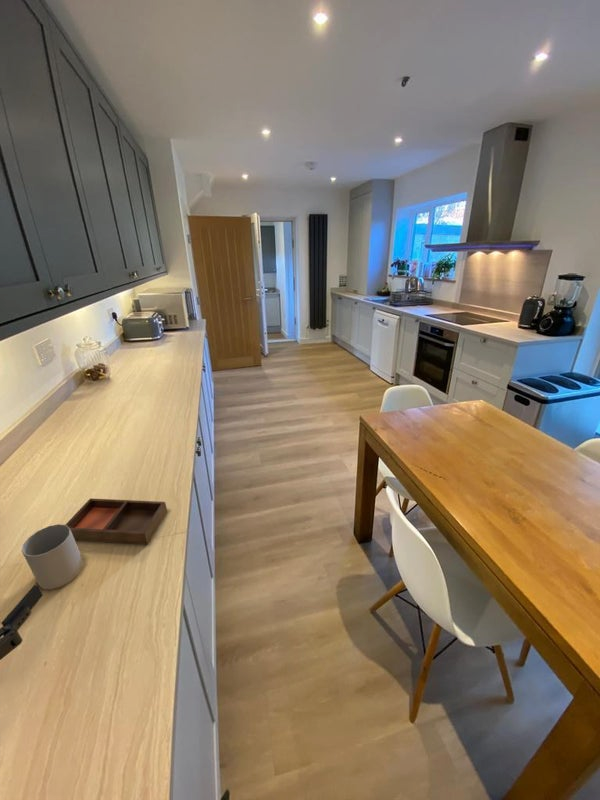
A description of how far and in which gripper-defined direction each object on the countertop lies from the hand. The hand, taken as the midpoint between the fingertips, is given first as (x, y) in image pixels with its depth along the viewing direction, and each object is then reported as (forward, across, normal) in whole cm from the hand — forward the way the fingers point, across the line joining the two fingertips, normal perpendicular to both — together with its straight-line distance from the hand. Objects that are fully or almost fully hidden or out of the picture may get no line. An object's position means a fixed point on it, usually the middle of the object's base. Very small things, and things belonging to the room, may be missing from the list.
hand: (3, 587), depth 59 cm
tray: (+24, +5, -9) cm, 27 cm away
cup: (+10, 0, -10) cm, 14 cm away
